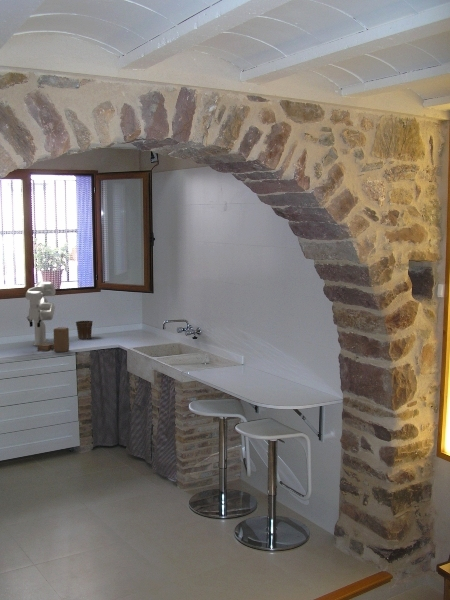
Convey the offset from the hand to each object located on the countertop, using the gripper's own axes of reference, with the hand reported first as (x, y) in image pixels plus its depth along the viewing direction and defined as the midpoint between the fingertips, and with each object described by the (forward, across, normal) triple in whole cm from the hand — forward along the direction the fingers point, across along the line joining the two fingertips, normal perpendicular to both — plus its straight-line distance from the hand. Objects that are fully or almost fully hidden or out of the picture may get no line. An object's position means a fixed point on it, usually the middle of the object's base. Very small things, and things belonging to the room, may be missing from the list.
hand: (34, 326), depth 586 cm
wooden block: (+20, -27, 0) cm, 33 cm away
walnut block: (+20, -11, 0) cm, 23 cm away
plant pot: (+20, -10, -62) cm, 66 cm away
